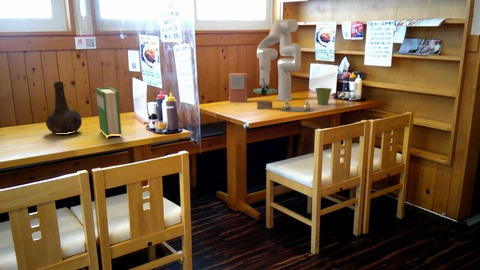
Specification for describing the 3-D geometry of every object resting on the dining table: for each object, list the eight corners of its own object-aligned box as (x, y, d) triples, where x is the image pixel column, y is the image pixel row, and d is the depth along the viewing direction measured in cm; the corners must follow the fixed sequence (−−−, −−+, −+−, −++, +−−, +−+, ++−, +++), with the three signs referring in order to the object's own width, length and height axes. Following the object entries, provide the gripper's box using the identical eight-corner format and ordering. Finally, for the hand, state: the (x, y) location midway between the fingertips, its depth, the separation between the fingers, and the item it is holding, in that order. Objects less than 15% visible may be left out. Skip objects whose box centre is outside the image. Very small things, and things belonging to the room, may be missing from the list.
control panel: (229, 101, 322) (248, 101, 321) (227, 102, 316) (247, 102, 314) (228, 73, 317) (248, 73, 316) (227, 74, 311) (247, 74, 309)
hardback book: (121, 137, 218) (117, 91, 212) (107, 139, 215) (102, 92, 209) (114, 130, 233) (110, 87, 227) (100, 132, 230) (96, 88, 224)
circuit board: (255, 91, 293) (255, 88, 292) (277, 91, 289) (277, 89, 288) (252, 93, 287) (252, 90, 286) (275, 93, 282) (275, 90, 282)
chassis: (283, 107, 292) (283, 97, 290) (312, 109, 286) (312, 98, 285) (280, 111, 281) (280, 100, 279) (310, 112, 275) (310, 101, 274)
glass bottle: (83, 135, 223) (77, 82, 216) (46, 138, 217) (39, 84, 210) (82, 128, 239) (77, 79, 233) (48, 131, 233) (42, 80, 227)
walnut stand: (258, 108, 293) (258, 101, 291) (272, 108, 290) (272, 101, 289) (257, 108, 290) (257, 101, 289) (271, 109, 287) (271, 102, 286)
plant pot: (329, 106, 296) (330, 90, 293) (313, 105, 300) (313, 89, 298) (332, 103, 307) (333, 88, 304) (316, 102, 311) (317, 87, 308)
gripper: (262, 66, 292) (262, 92, 297) (256, 69, 276) (256, 96, 281) (273, 66, 290) (273, 92, 295) (267, 69, 274) (267, 96, 279)
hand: (265, 94), depth 288 cm, fingers closed on circuit board, 7 cm apart
